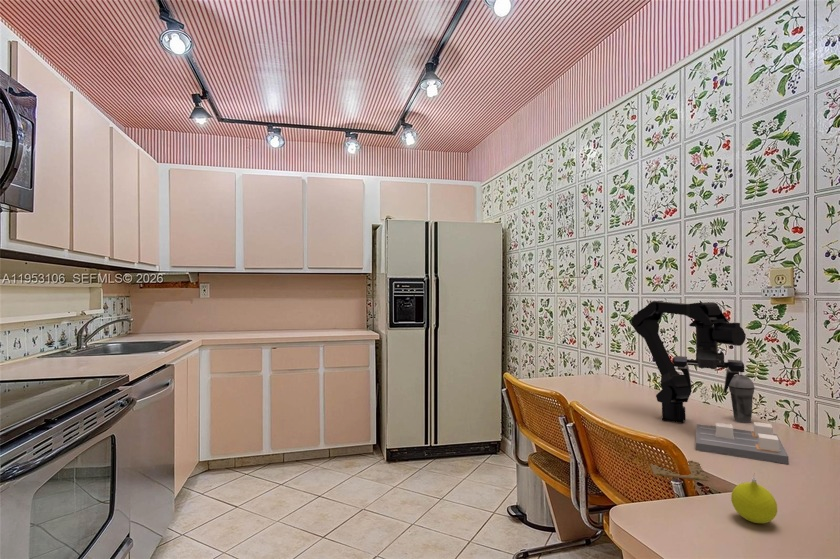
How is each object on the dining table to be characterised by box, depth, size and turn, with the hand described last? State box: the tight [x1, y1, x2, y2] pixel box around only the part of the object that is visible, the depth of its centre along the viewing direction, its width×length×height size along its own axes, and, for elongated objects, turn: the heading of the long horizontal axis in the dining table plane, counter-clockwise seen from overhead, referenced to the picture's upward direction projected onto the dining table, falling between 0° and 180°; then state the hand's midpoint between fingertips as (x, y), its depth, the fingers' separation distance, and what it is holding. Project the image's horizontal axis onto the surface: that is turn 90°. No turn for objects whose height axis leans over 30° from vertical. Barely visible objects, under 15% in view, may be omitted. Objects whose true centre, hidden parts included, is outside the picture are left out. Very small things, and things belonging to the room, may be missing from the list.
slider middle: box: [715, 422, 734, 439], centre depth 126 cm, size 4×4×3 cm
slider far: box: [753, 421, 774, 436], centre depth 126 cm, size 4×4×3 cm
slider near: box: [758, 433, 780, 452], centre depth 116 cm, size 4×4×3 cm
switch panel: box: [695, 423, 790, 465], centre depth 124 cm, size 20×20×2 cm
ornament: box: [730, 473, 778, 524], centre depth 84 cm, size 7×7×10 cm
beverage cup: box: [728, 374, 756, 424], centre depth 147 cm, size 7×7×20 cm
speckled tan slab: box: [649, 460, 710, 482], centre depth 109 cm, size 12×12×1 cm
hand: (707, 390), depth 137 cm, fingers open, 9 cm apart
